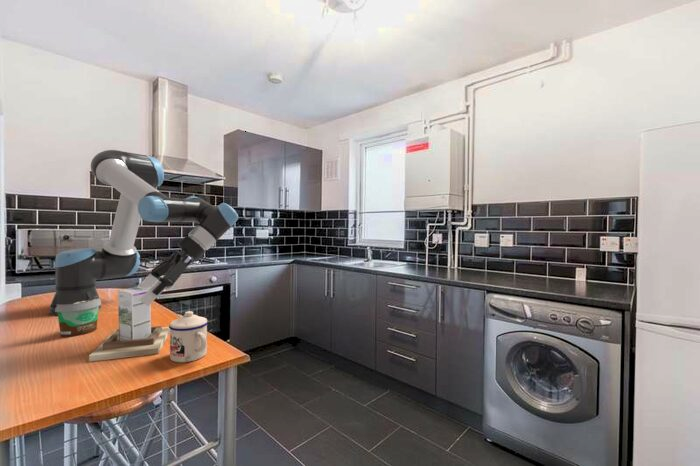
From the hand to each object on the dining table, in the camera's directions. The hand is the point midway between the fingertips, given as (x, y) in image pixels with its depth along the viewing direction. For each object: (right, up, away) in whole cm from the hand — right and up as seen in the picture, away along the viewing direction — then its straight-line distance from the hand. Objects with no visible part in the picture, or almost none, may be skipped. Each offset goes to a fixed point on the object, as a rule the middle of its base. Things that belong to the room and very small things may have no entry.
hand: (139, 298), depth 90 cm
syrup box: (-1, -12, 0) cm, 12 cm away
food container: (-23, -13, +9) cm, 28 cm away
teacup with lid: (+18, -14, -7) cm, 24 cm away
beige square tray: (-2, -13, 0) cm, 13 cm away
